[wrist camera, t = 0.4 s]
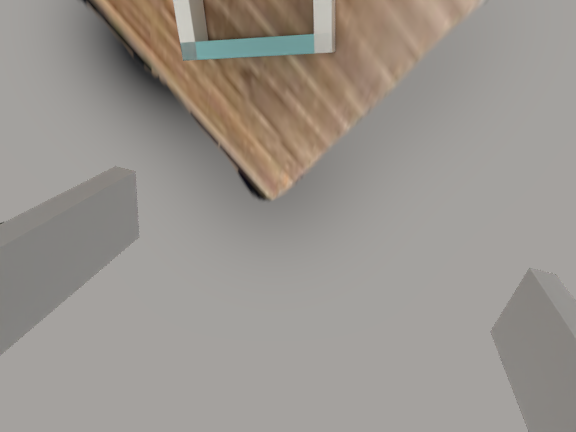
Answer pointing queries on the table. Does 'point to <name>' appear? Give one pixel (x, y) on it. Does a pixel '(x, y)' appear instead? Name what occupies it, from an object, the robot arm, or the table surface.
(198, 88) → the table surface
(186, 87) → the table surface
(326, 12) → the bay
